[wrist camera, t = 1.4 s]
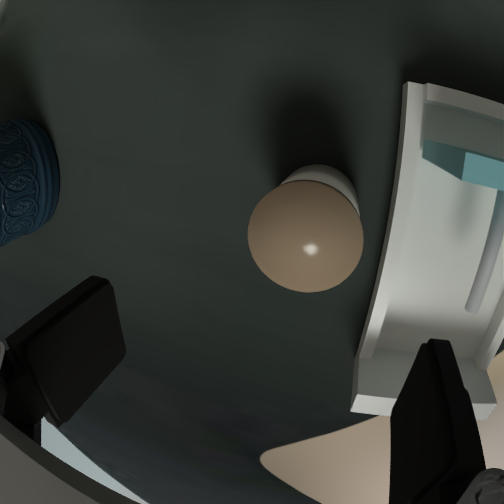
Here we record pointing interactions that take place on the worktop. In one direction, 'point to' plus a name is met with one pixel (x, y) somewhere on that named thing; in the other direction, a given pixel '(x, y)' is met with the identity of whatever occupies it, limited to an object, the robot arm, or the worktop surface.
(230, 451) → the worktop surface
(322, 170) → the jar
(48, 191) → the canister
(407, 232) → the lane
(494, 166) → the pusher
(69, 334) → the robot arm
